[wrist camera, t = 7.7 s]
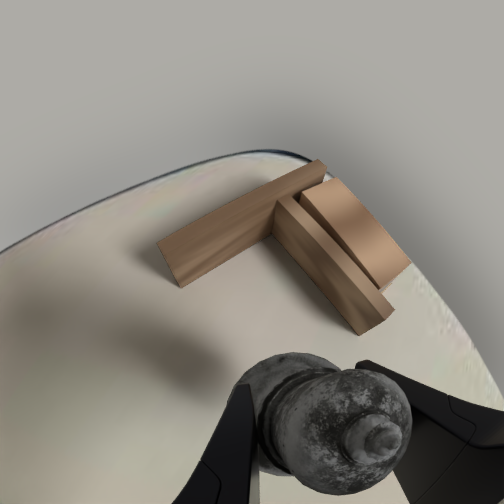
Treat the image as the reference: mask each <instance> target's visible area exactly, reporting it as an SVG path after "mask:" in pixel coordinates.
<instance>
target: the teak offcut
mask: <svg viewBox="0 0 504 504" xmlns="http://www.w3.org/2000/svg"><path fill="white" fill-rule="evenodd" d="M299 205H300V206H301V207H302V208H303V209H304V210H305V211H306V212H307V213H308V214H309V215H310V216H311V217H312V218H313V219H314V220H315V221H316V222H317V223H318V224H319V225H320V226H321V227H322V228H323V229H324V230H325V231H326V233H327V234H328V235H329V236H330V237H331V238H332V239H333V240H334V241H335V242H336V243H337V244H338V245H339V246H340V247H341V249H342V250H343V251H344V252H345V253H346V254H347V255H348V256H349V257H350V258H351V260H352V261H353V262H354V263H355V264H356V265H357V266H358V267H359V268H360V270H361V271H362V272H363V273H364V274H365V275H366V276H367V277H368V279H369V280H370V281H371V282H372V283H373V284H374V286H375V287H376V288H377V289H378V290H381V289H382V288H383V287H384V286H386V285H387V284H388V283H389V282H390V281H392V280H393V279H394V278H395V277H397V276H398V275H399V274H400V273H401V272H402V271H403V270H404V269H405V268H406V267H407V266H408V265H409V264H411V261H410V260H409V259H408V257H407V256H406V255H405V254H404V252H403V251H402V250H401V249H400V247H399V246H398V245H397V244H396V242H395V241H394V240H393V239H392V238H391V236H390V235H389V234H388V233H387V232H386V230H385V229H384V228H383V227H382V226H381V225H380V223H379V222H378V221H377V220H376V219H375V218H374V217H373V216H372V214H371V213H370V212H369V211H368V210H367V209H366V208H365V207H364V206H363V204H362V203H361V202H360V201H359V200H358V199H357V198H356V197H355V196H354V195H353V194H352V193H351V192H350V191H349V190H348V188H347V187H346V186H345V185H344V184H343V183H342V182H341V181H340V180H339V179H338V178H336V177H335V178H333V179H330V180H328V181H326V182H323V183H321V184H319V185H316V186H314V187H312V188H310V189H307V190H305V191H303V192H302V194H301V198H300V201H299Z"/></svg>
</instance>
